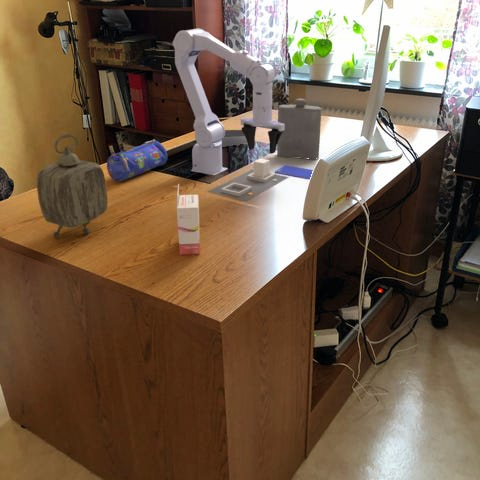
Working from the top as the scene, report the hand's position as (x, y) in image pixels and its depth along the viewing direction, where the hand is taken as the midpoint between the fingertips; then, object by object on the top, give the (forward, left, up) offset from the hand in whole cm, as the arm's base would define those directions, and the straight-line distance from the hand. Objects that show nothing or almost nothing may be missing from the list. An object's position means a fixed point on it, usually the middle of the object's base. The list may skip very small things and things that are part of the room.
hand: (262, 150), depth 166 cm
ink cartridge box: (+11, -50, -10) cm, 52 cm away
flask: (-2, +27, -10) cm, 29 cm away
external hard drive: (-34, +27, -10) cm, 45 cm away
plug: (0, 0, -9) cm, 9 cm away
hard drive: (+7, +10, -10) cm, 16 cm away
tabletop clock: (-17, -59, -9) cm, 62 cm away
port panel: (0, -7, -9) cm, 12 cm away
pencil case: (-37, -17, -10) cm, 42 cm away
